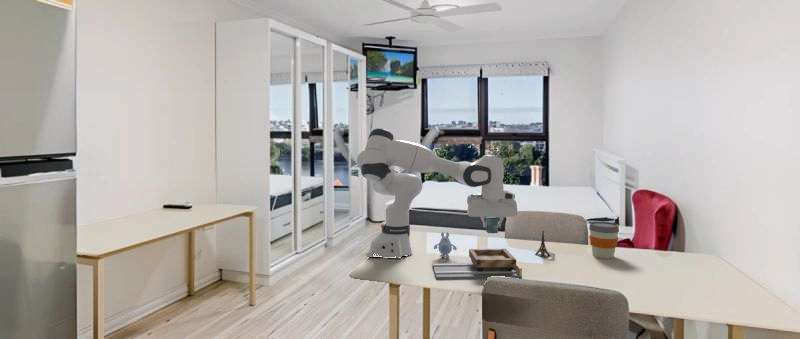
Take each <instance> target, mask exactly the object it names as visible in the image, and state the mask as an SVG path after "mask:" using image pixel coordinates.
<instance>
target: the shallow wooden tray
mask: <svg viewBox="0 0 800 339" xmlns="http://www.w3.org/2000/svg"><path fill="white" fill-rule="evenodd" d="M468 256H469V258H470V262H471V263H473V264H475V266H476V269H477V271H479V272H481V271H483V270H484V267H505V268H506V270H507V271H512V270H513V267H516V263H517V259H516V257H515V256H513V254H511V252H509V250H508V249H507V248H469V249H468Z"/></svg>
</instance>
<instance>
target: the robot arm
mask: <svg viewBox="0 0 800 339" xmlns="http://www.w3.org/2000/svg"><path fill="white" fill-rule="evenodd" d="M394 137H395V136H394V134H393V133H392V132H391V131H390V130H388V129H384V128H381V127H379V128H375V129H373V130H371V132H370V133H369V135H368V138H367V142H366V145H365V149H364V150H362V151H361V152H360V153H359V154H358V155H357V158H356V165H357V167H358V168H359V169H360V173H361V175H362V177H363V178H365V179H366V180H368V181H372V189H373V191H374V192H375V193H377V194H380V195H383V196H392V197H394V201H393V202H392V203H391V204H389V205H388V206H387V207H386V209H385V223H381V224H380V228H381V232H380V233H379V234H377V235H376V236H375V237H374V238H372V240H371V242H370V245H369V248H367V249H366V250H365V254H364V255H365V257H367V258H369V257H373V254H374V253H375V254H376V256H378V255H379V256H382V257H395V256H396V258H399V257H402V256H405V255H409V254H411V253H412V254H413V251H412V246H411V242H410V241H411V240H410V235H411V226H410V208H411V205H412V203H413V201H414V199H416V197H417V196H419V195H420V194H421V192H422V189H423V181H422V178H420V176H419V175H416V174H413V173H405V172H395V167H398V168H402V169H404V170H407V171H410V172H414V173H422V174H426V173H428V172H435V173H439V174H442V175H446V176H449V177H451V178H452V179H453V180H454V181H455V182H456V183H459V184H461V185H464V186H467V187H470V188H477V187H481V193H477V194H474V193H473V194H470V195H469V196H467V198H466V201H467V202H466V203H467V212H466V213H467V215H468V216H469V217H470V218H480V219H481V221H482V222H481V223H483V224H482V226H483V228H486V227H488V226H487V225H488V223H486V217H496V218H498V228H501V227H502V223H503V220H504V218H505V217H508V218H509V217H513V218H514V217H516V216H517V215H518V204H517V201H516V200H515V199H516V194H515V193H513V192H511V191H508V190H504V183H503V182H504V181H503V180H504V177H505V176H504V174H505V172H504V171H505V170H504V161H503V159H502V157H501V156H499V155H498V156H497V155H492V154H484V155H483V156H482V157H480V158H478V159H477V160H475V161H472V162H470V161H467V160H462V161H454V160H453V161H452V160H449V159H446V158H443V157H440V156H438V155H436V154H435V153H434V151H433V150H432V149H431V148H428V147H426V146H424V145H422V144H420V143H417V142H412V141H407V140H404V139H403V140H402V139H395V138H394ZM375 254H374V255H375ZM377 254H378V255H377ZM412 254H411V255H412ZM409 256H410V255H409ZM402 258H403V257H402Z"/></svg>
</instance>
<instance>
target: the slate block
mask: <svg viewBox="0 0 800 339" xmlns="http://www.w3.org/2000/svg"><path fill="white" fill-rule="evenodd" d="M498 222H499V217H485V223H488V225H487V226H488V227H485V232H486V233H488V234H498V233H499V227H498Z"/></svg>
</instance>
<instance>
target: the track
mask: <svg viewBox="0 0 800 339" xmlns="http://www.w3.org/2000/svg"><path fill="white" fill-rule="evenodd" d="M431 265H433V266H432V269H433V268H434V269H433V272H434V275H436V276H435V279H436V278H437V279H436V280H473V279H474V280H476V279H477V280H478V279H479V280H480V279H481V280H483V279H484V280H485V279H486V280H488V279H487V278H488V277H491V276H505V277H515V278H514V279H523V268H522V266H521V265H519V263H517V262H516V267H513V270H512V271H507V270H506V268H505V267H484V270H483V271H481V272H479V271H477V269H476V266H475V264H473V263H472V262H432V264H431Z"/></svg>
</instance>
